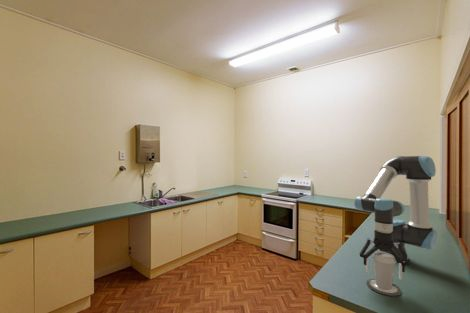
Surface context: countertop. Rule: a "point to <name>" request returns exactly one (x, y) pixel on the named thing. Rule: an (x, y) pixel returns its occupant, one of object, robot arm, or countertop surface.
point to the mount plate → (392, 292)
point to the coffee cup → (384, 269)
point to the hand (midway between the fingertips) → (383, 275)
